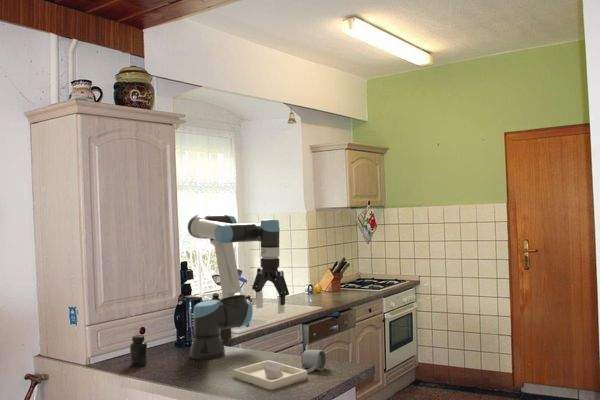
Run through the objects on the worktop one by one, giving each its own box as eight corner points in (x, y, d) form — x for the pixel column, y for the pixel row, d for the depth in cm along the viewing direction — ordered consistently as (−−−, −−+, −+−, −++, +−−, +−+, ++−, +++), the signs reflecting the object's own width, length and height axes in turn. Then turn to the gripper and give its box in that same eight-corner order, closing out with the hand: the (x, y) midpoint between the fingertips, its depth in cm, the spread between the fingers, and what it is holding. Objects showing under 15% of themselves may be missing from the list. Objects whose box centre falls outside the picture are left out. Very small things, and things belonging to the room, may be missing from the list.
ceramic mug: (309, 364, 229) (308, 346, 229) (327, 367, 224) (326, 348, 224) (296, 372, 219) (295, 352, 219) (314, 375, 215) (313, 355, 215)
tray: (233, 377, 213) (233, 369, 213) (268, 367, 226) (268, 360, 226) (271, 390, 197) (271, 381, 197) (307, 378, 210) (307, 370, 210)
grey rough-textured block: (276, 387, 208) (279, 375, 206) (259, 383, 209) (262, 370, 207) (281, 372, 218) (284, 359, 216) (265, 367, 218) (268, 355, 216)
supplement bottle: (139, 361, 237) (139, 333, 238) (150, 364, 234) (150, 335, 234) (126, 366, 232) (126, 336, 232) (138, 368, 228) (138, 338, 228)
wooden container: (205, 334, 288) (205, 291, 288) (234, 334, 286) (233, 291, 287) (197, 341, 273) (197, 295, 273) (227, 341, 272) (226, 295, 272)
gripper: (243, 255, 231) (243, 307, 232) (283, 261, 213) (283, 316, 213) (258, 254, 237) (258, 304, 237) (297, 259, 218) (298, 313, 218)
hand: (270, 310), depth 225 cm, fingers open, 13 cm apart
